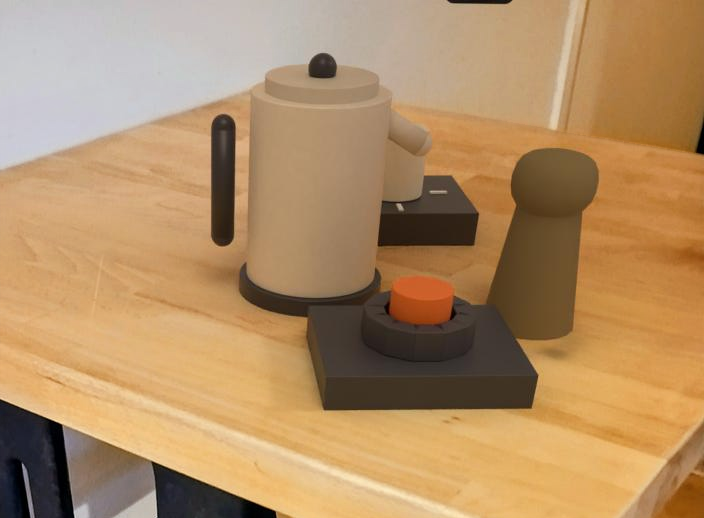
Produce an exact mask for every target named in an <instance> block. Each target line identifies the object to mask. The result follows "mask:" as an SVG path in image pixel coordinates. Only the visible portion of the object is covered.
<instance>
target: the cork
mask: <svg viewBox="0 0 704 518" xmlns="http://www.w3.org/2000/svg"><path fill="white" fill-rule="evenodd" d="M599 173H600V170H599V167H598V164H597V162H596V161H595V160H594V158H592V157H590V155H588V154H586V153H584V152H582V151H577V150H574V149H570V148H569V149H568V148H563V147H561V148H560V147H545V148H537V149H532V150H529V151H528V152H526V153H524V154H522V155H521V157H520V158H519V159H518V160H517V162H516V163H515V166H514V168H513V171H512V173H511V178H510V195H511V197H512V200H513V201H514V203H515V207H514V210H513V213H512V217H511V221H510V224H509V226H508V230H507V233H506V237H505V240H504V243H503V246H502V249H501V252H500V256H499V258H498V263H497V265H496V268H495V272H494V276H493V279H492V282H491V285H490V289H489V291H488V294H487V297H486V301H485V304H484V305H495V306H496V308H497V309H498V311H499V312H500V314H501V316H502V317H503V319H504V320H505V322H506V324H507V325H508V327H509V329H510V330H511V332H512V333H513V335H514V337H515V338H516V340H517V339H518V340H526V341H551V340H558V339H560V338H563V337H567V336H568V335H569V334H570V333H571V332H573V330H574V320H575V307H576V297H577V296H576V295H577V282H578V271H579V258H580V247H581V235H582V223H583V222H582V221H583V213H584V211H585V210H586V209H587V208H588V207H589V206H590V205H591V204H592V203H593V201H594V199H595V196H596V194H597V191H598V187H599V181H600V174H599Z"/></svg>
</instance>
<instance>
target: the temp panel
mask: <svg viewBox="0 0 704 518" xmlns="http://www.w3.org/2000/svg"><path fill="white" fill-rule="evenodd" d="M479 217H480V212H479V210H477V208H476V207H475V205H474V204H473V202H472V201H471V200H470V198H469V197H468V196H467V195H466V193H465V191H464V190H463V189H462V187H461V186H460V184H459V183H458V182H457V181H456V179H455V178H454V176H453V175H451V174H450V175H446V174H445V175H444V174H440V175H439V174H438V175H437V174H431V175H429V174H427V175H426V174H424V179H423V187H422V195H421V196H420V197H419V198H417V199H415V200H411V201H404V202H389V201H382V204H381V214H380V224H379V234H378V244H377V246H474V245H475V243H476V236H477V230H478V225H479V224H478V223H479Z"/></svg>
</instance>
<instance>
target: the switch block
mask: <svg viewBox="0 0 704 518" xmlns="http://www.w3.org/2000/svg"><path fill="white" fill-rule="evenodd" d="M390 298H391V289H390V290H386V291H382V292H380V293H378V294H375V295H373V296H372V297H371V298H370V299H368V300H367V301H366V302H365V303H364V304H363V305H356V306H308V317H307V318H306V320H307V321H306V336H305V337H306V341H307V345H308V350H309V354H310V359H311V363H312V366H313V372H314V375H315V381H316V383H317V388H318V391H319V397H320V400H321V405H322V409H323V411H325V412H326V411H417V410H418V411H425V410H426V411H428V410H436V411H437V410H438V411H439V410H442V411H443V410H531V409H533V405H534V398H535V394H536V389H537V385H538V380H539V377H540V375H539V373H538V372H537V370H536V368H535V367H534V365H533V363H532V362H531V360H530V359H529V358H528V356H527V354H526V352H525V351H524V349H523V348H522V346H521V344H520V343H519V341H518V340H517V338H515V337H514V335H513V333H512V332H511V330H510V329H509V327H508V325H507V324H506V322H505V320H504V319H503V317H502V316H501V314H500V312H499V311H498V309H497V308H496V306H495V305H485V304H472V303H471V302H469V301H467V300H465V299H462V298H460V297H458V296H456V295H455V294H454V297H453V304H452V311H451V317H450V320H449V321H446V322H443V323H439V324H412V323H407V322H403V321H399V320H397V319H395V318H393V317H391V316H390V315H389V307H390Z"/></svg>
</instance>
